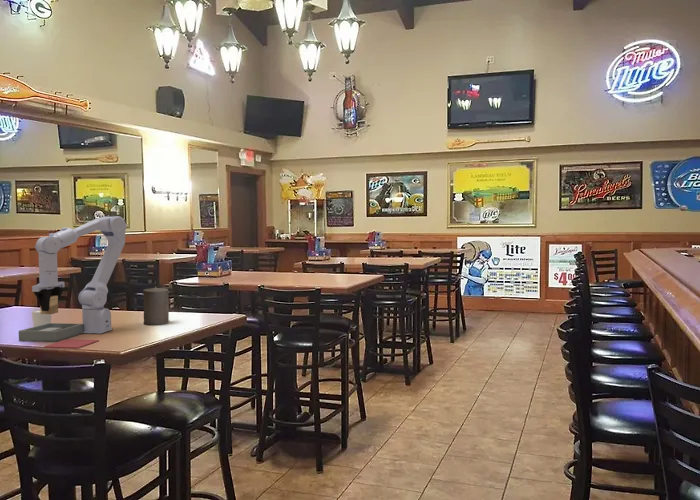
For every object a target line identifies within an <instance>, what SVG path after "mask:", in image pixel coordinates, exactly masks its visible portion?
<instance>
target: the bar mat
mask: <svg viewBox="0 0 700 500" xmlns="http://www.w3.org/2000/svg"><path fill="white" fill-rule="evenodd" d="M97 342H100V340H99V339H81V338H80V339H70V338H67V339H64V340H61V341H58V342H52V343H50V344H47V345H44V347H43V348H45V349H49V348H50V349H81V348H83V347H84V348H85V347H87V346H90V345H91V344H95V343H97Z"/></svg>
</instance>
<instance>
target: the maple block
mask: <svg viewBox="0 0 700 500" xmlns="http://www.w3.org/2000/svg"><path fill="white" fill-rule="evenodd" d="M39 306H40V305H39ZM39 310H40V314H51V315H54V314H57V313H59V303H58V296H50V301H49V311H42V309H41V306H40V307H39Z"/></svg>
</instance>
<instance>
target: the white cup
mask: <svg viewBox="0 0 700 500" xmlns="http://www.w3.org/2000/svg"><path fill="white" fill-rule="evenodd" d="M31 315H32V322H33V323H32V324H33V327H35V326H39V325H43V324H47V323H52V314H40V309H37V310H33V311H31Z"/></svg>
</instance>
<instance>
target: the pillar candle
mask: <svg viewBox="0 0 700 500" xmlns="http://www.w3.org/2000/svg"><path fill="white" fill-rule="evenodd" d="M142 296H143V297H142V298H143V325H145V326H163V325H167V323H168V324H169V321H170V317H169V316H170V315H169V306H170V305H169V289H168V288H163V287H162V288H161V287H160V288H159V287H157V286H156V285H155V287H151V288H145V289H143V294H142Z"/></svg>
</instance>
